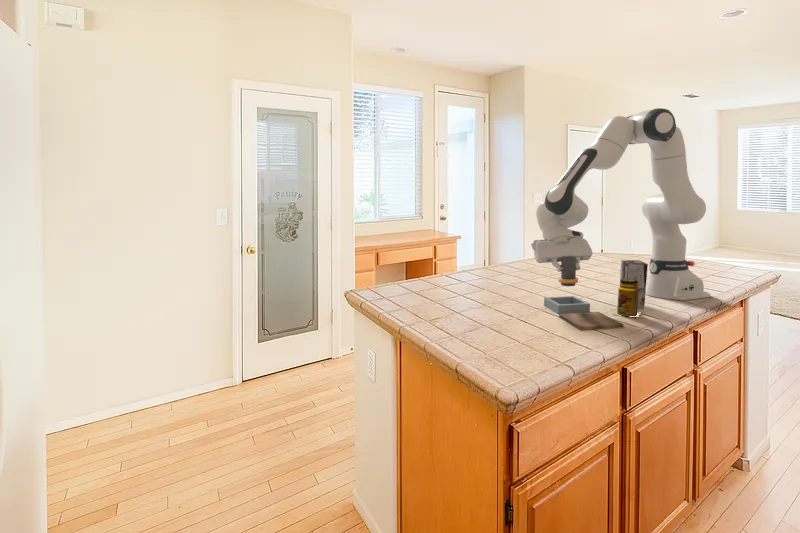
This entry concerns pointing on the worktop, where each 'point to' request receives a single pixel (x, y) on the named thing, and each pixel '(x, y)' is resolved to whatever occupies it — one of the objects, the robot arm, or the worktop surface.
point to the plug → (568, 271)
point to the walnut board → (590, 320)
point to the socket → (566, 304)
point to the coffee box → (636, 276)
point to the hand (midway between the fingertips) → (569, 270)
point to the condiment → (628, 297)
